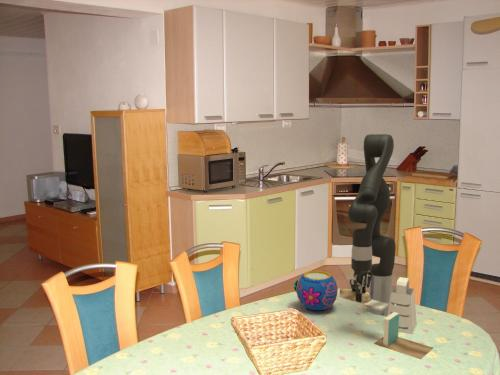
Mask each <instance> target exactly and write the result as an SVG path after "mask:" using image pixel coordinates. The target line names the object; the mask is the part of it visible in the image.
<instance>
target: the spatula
mask: <svg viewBox="0 0 500 375" xmlns="http://www.w3.org/2000/svg"><path fill="white" fill-rule="evenodd" d="M338 297H339V298H341V299H343V300H348V301H351V302H355V303H359V302H356V292H352V289H348V288H346V287H342V288H340V289H339V296H338ZM370 298H371V295H369V293H366V294H365V293H362V302H360V303H359V304H362V305H363V307H366V308H368V307H369V308H372V309H376V310H380V311H381V310H383V309H384V308H386V307H388V305H389V304H387V303H383V302H380V301H376V300H372V299H371V300H370Z"/></svg>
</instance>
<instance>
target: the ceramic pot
mask: <svg viewBox="0 0 500 375" xmlns="http://www.w3.org/2000/svg"><path fill="white" fill-rule="evenodd" d="M293 289H294V291H295V293H296V295H297V299H298V301H299V302H300V305H302V306H303V307H305V308H307V309H308V310H311V311H324V310H327V309H329V308H331V307H332V306H333V305H334V303H335V301H337V297H338V290H339V289H338V284H337V281H336V280H335V278H334V277H333V275H332V274H330V273H329V272H326V271H322V270H321V271H320V270H310V271H306V272H305V273H303V274H302V275H301V276H300V277H299V278H298V279H297V280H295V281H294V283H293Z"/></svg>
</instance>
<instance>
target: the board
mask: <svg viewBox="0 0 500 375" xmlns="http://www.w3.org/2000/svg"><path fill="white" fill-rule="evenodd" d="M373 344H374V345H375V346H379V347H382V348H384V349H385V348H386V349H389V350H392V351H395V352H398V353H401V354H403V355H407V356H410V357H413V358H415V359H419V360H422V359H423V358H424V357H425V356H426V355H427V354H429V353H430V352H431V351H432V350H434V347H432V346H429V345H426V344H424V343H419V342H417V341H412V340H411V339H410V340H409V339H407V338H404V337H399V336H398V339H397V340H395V341H394V342H393V343H391V344H390V345H389V346H386V345H383V336H382V337H381V338H379V339H378V340H376V341H375V342H374V343H373Z"/></svg>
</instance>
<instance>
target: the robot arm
mask: <svg viewBox="0 0 500 375" xmlns="http://www.w3.org/2000/svg"><path fill="white" fill-rule="evenodd" d="M394 146H395V143H394V138H393V135H391V134H387V133H381V134H379V133H378V134H377V133H376V134H373V133H372V134H366V135H365V137H364V140H363V157H364V164H365V174H364V175H363V177H362V179H361V182H360V185H359V190H358V193H357V194H356V196H355V198H354V200H353V201H352V202H351V205H350V206H349V209H348V211H347V212H348V213H347V216H348V220H349V221H351V222H352V223H357V224H365V227H359V228H355V229H354V230H353V231H352V244H351V245H352V247H351V260H350V261H351V264H350V265H351V266H350V268H351V269H352V270H353V278H352V279H349V280H348V281H349V282H348V283H349V285H350V288H351V289H350V290H352V292H356V302H355V303H358V302H359V304H361V303H360V302H362V293H365V294H367V290H368V294H369V295H371V298H370V300H371V299H372V300H376V301H380V302H383V303H387V304H389V303H390V297H391V292H392V290H393V270H394V268H395V260H396V257H395V256H396V251H397V250H396V249H397V246H396V241H395V239H394V238H393V237H390V236H386V235H382V234H381V222H382V220H383V218H384V217H385V216H386V214H387V212H388V210H389V208H390V205H391V194H390V193H391V191H390V190H391V189H390V187H389V185H388V183H387V181H386V180H385V178H384V177H383V176H384V174H385V172H386V171H387V170H386V169H387V167H388V165H389V163H390V160H391V158H392V156H393V151H394ZM376 158H377V159H378V160H377V162H376ZM373 257H375V258H379V263H374V264H373ZM367 309H368V312H369V313H371V314H373V315H380V316H383V317H387V315H388V309H389V305H388V307H386V308H384V309H383V310H381V311H380V310H376V309H372V308H369V307H367ZM390 313H391V312H390Z"/></svg>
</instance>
